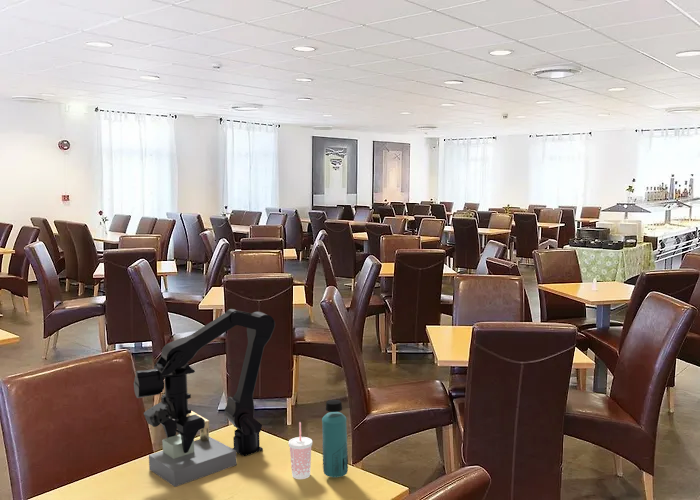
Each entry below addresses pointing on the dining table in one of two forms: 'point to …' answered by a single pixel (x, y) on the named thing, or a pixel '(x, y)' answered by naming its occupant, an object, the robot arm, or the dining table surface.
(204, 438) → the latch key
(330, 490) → the dining table surface
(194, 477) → the box
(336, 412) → the beverage bottle
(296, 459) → the beverage cup
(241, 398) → the robot arm
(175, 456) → the rectangular block
